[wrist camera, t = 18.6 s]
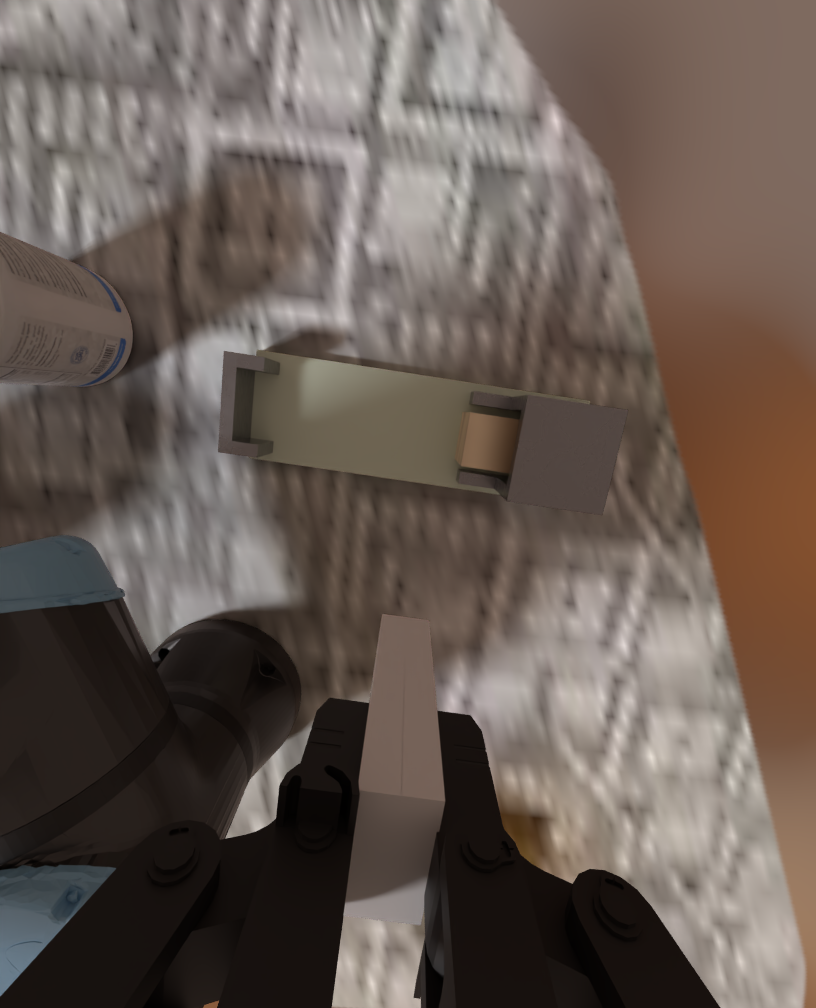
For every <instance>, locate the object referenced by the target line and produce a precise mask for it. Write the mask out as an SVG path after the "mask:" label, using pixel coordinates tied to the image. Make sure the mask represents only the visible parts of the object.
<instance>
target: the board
mask: <svg viewBox="0 0 816 1008" xmlns="http://www.w3.org/2000/svg"><path fill="white" fill-rule="evenodd" d="M256 356H260V357H265V358H268V359H271V360H274V361H277V362H279V363H280V372H279V375H274V374H268V373H261V372H255V381H254V395H253V409H252V423H251V436H250V438H255V439H262V440H269V441H274V444H273V453H270V454H267V455H264V456H261V457H258V458H255V457H249V458H253V459H259V460H266V461H273V462H280V463H286V464H293V465H300V466H307V467H314V468H320V469H327V470H334V471H341V472H348V473H354V474H361V475H368V476H375V477H382V478H388V479H395V480H402V481H409V482H415V483H422V484H429V485H436V486H443V487H449V488H456V489H463V490H470V491H477V492H483V493H490V494H497V495H500V494H499V493H498V492H497V491H496V490H495V489H491V488H485V487H478V486H471V485H464V484H458V482H457V481H456V476H457V471H458V469H464V470H471V471H478V472H484V473H491V474H498V475H505V476H509V473H505V472H498V471H491V470H484V469H477V468H471V467H464V466H461V465H460V464H459V463H458V462H457V461H456V460H455V454H456V448H457V442H458V436H459V430H460V424H461V418H462V412H472V413H478V414H485V415H492V416H498V417H505V418H512V419H518V420H520V415H521V412H517V411H511V410H504V409H498V408H491V407H484V406H478V405H471V404H469V401H470V395H471V392H473V391H477V392H484V393H491V394H497V395H504V396H510V397H514V396H522V395H533V396H540V397H546V398H553V399H559V400H566V401H572V402H579V403H585V404H590V401H588V400H581V399H575V398H568V397H562V396H555V395H549V394H542V393H536V392H529V391H523V390H516V389H510V388H503V387H497V386H490V385H484V384H477V383H471V382H464V381H458V380H451V379H445V378H438V377H432V376H425V375H419V374H412V373H406V372H399V371H392V370H386V369H379V368H373V367H366V366H360V365H353V364H347V363H340V362H334V361H327V360H321V359H314V358H308V357H301V356H295V355H288V354H282V353H275V352H269V351H262V350H257V353H256Z"/></svg>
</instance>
